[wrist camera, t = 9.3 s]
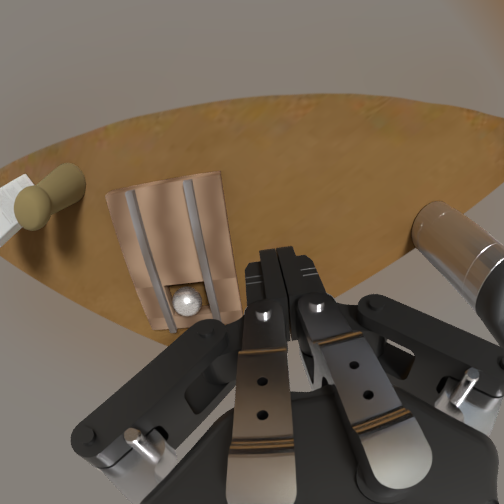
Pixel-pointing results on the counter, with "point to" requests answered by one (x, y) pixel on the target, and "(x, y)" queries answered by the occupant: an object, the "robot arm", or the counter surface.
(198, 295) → the steel ball
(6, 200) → the skincare box
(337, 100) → the counter surface
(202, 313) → the walnut channel
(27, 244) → the counter surface
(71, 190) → the olive knob stopper
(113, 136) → the counter surface
